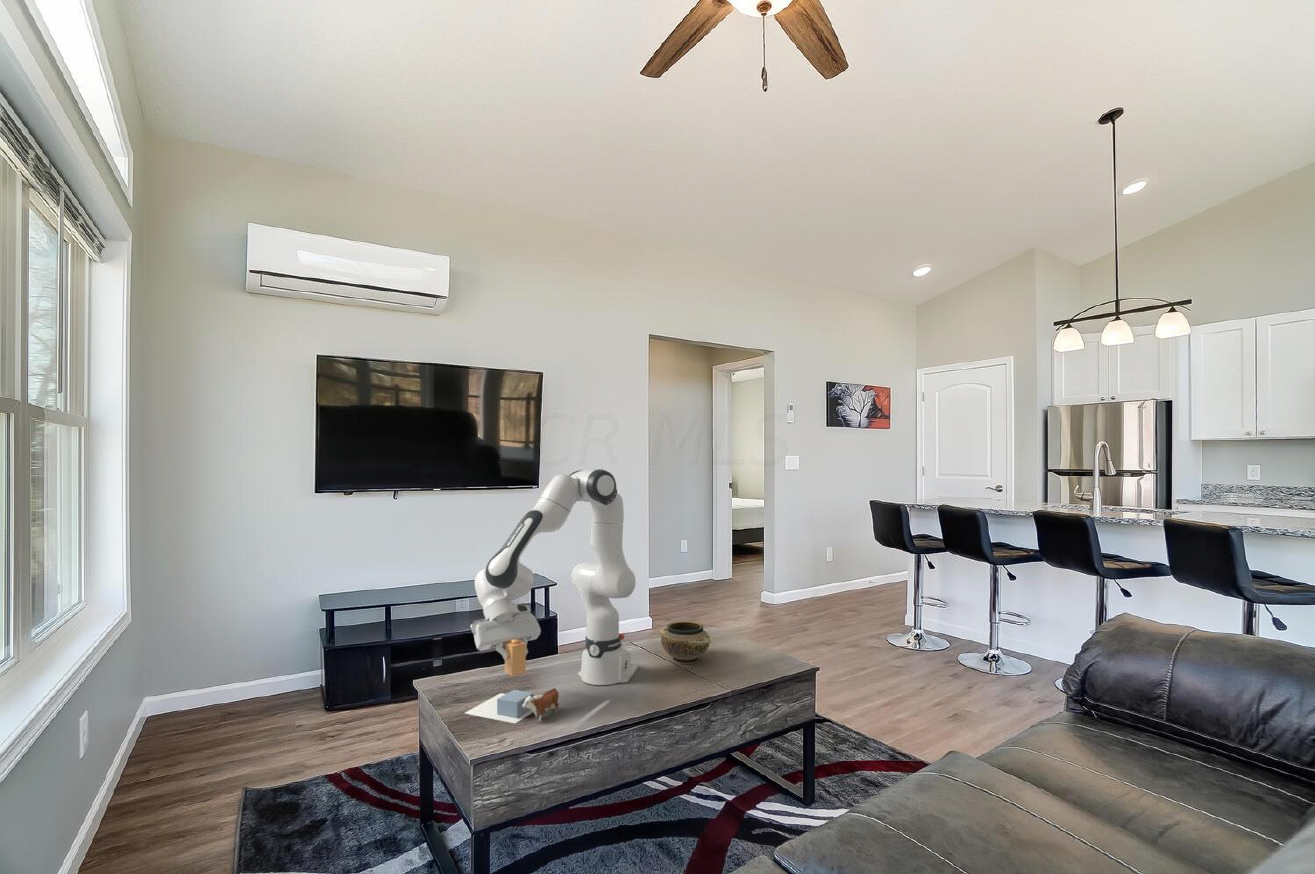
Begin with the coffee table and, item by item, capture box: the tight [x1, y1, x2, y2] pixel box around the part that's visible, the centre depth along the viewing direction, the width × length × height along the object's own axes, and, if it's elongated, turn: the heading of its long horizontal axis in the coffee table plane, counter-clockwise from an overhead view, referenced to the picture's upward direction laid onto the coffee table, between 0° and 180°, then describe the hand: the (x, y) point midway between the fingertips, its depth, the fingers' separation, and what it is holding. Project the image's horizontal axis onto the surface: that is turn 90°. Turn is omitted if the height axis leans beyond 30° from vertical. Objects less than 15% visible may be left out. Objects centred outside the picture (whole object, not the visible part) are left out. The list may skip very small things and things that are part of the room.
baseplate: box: [464, 692, 533, 724], centre depth 191 cm, size 17×18×1 cm
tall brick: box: [504, 639, 527, 677], centre depth 188 cm, size 4×4×9 cm
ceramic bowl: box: [659, 620, 712, 665], centre depth 237 cm, size 24×18×15 cm
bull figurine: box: [522, 688, 559, 721], centre depth 185 cm, size 4×13×8 cm, turn 146°
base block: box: [497, 689, 534, 718], centre depth 188 cm, size 8×7×4 cm
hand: (516, 655), depth 188 cm, fingers closed on tall brick, 4 cm apart
